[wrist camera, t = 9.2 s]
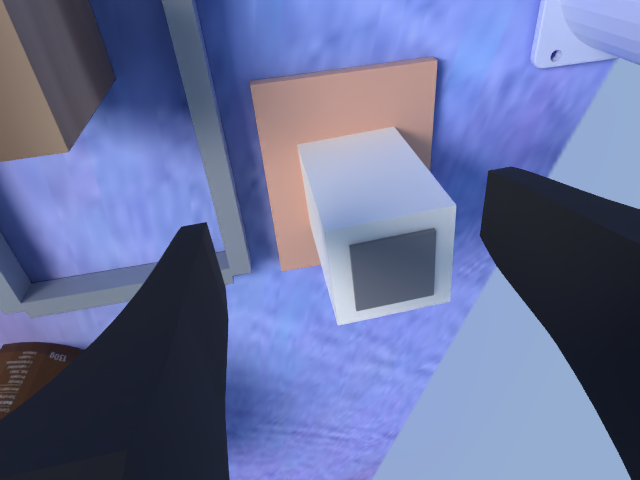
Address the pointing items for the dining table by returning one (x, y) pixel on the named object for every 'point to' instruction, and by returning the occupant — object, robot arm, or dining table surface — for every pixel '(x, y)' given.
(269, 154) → the terracotta mat
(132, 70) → the dining table surface
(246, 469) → the dining table surface
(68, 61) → the walnut block
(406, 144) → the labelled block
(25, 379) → the food container
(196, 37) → the grey rectangular frame
